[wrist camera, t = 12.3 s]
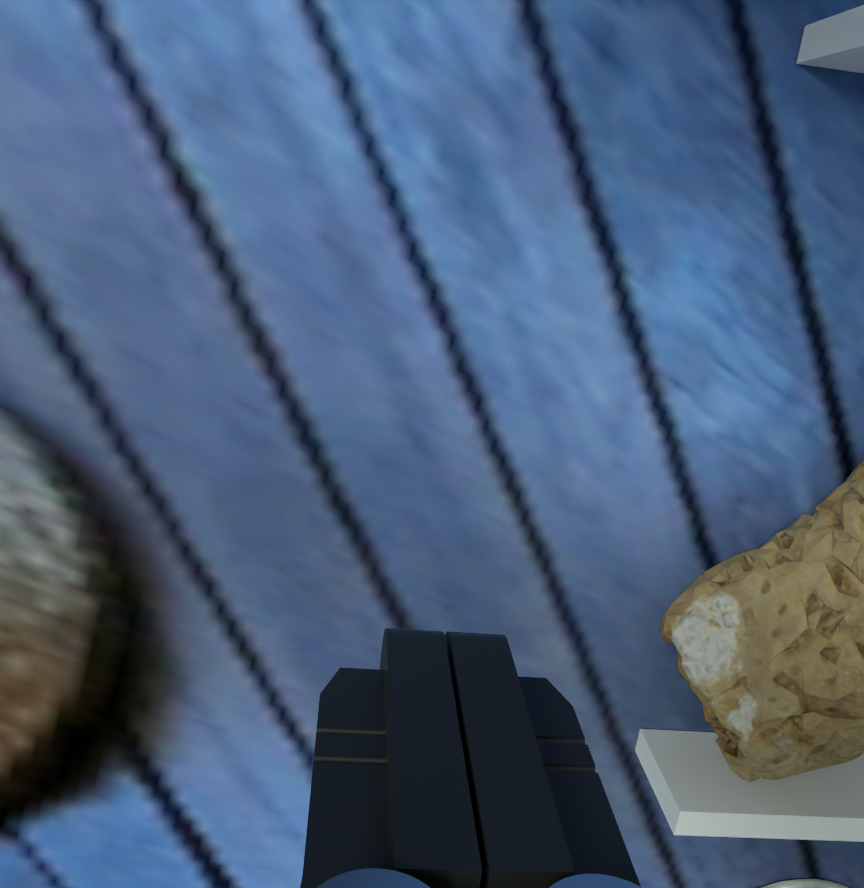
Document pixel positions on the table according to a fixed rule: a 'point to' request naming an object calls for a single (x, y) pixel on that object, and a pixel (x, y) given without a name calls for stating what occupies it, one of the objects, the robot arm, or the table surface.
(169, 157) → the table surface
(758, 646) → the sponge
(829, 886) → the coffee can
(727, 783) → the box
